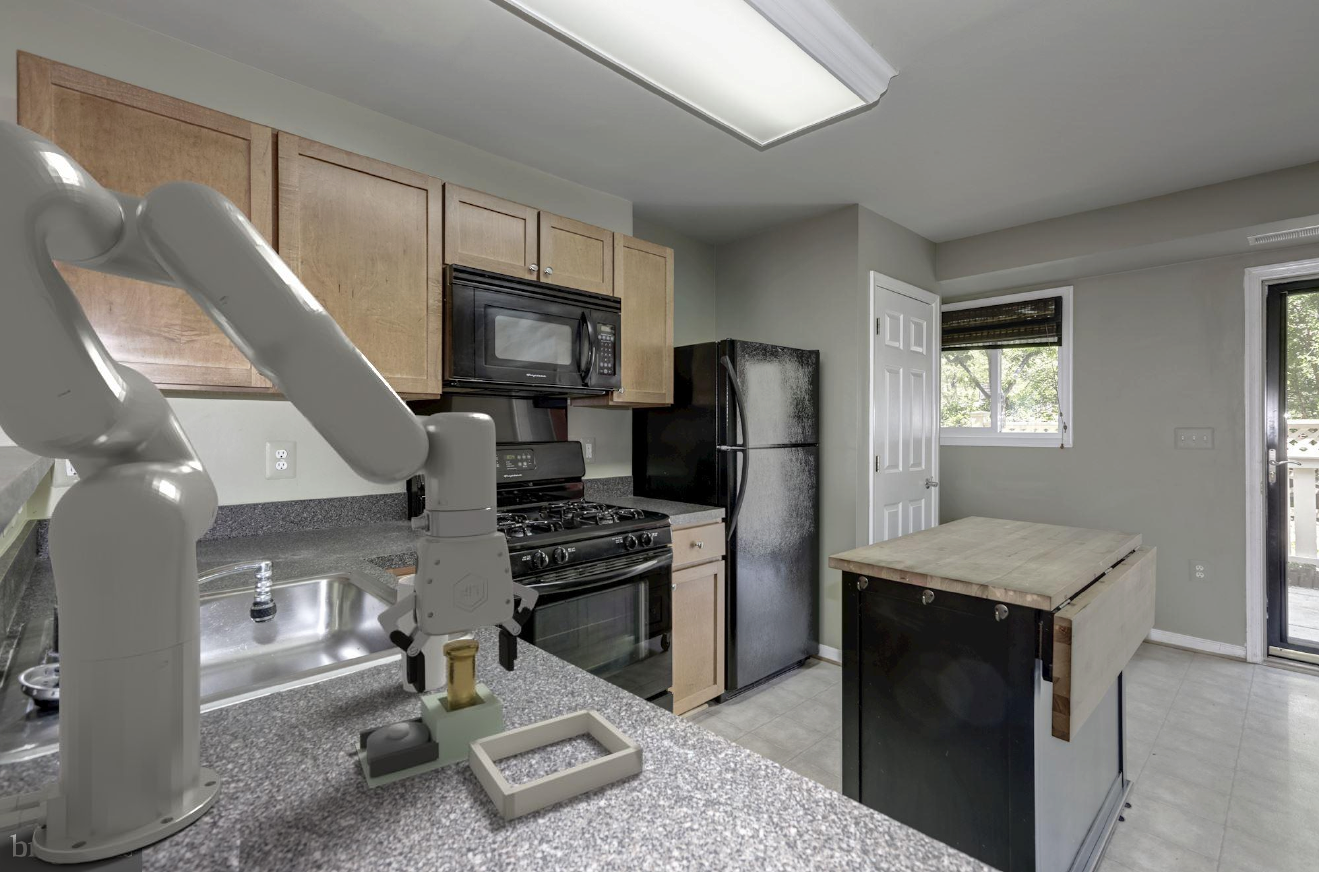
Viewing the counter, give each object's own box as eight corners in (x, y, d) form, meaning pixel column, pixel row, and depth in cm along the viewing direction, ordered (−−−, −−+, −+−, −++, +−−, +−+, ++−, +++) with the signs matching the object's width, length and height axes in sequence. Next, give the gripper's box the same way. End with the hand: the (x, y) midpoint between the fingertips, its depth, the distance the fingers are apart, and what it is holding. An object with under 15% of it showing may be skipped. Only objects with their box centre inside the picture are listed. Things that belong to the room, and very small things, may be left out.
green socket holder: (369, 796, 57) (369, 745, 57) (354, 751, 65) (354, 706, 65) (512, 753, 65) (512, 708, 65) (483, 717, 73) (483, 677, 73)
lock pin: (448, 749, 64) (448, 653, 64) (439, 734, 67) (439, 643, 67) (483, 739, 66) (483, 646, 66) (473, 725, 69) (473, 636, 69)
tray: (505, 830, 52) (505, 795, 52) (468, 771, 61) (468, 742, 61) (642, 778, 60) (642, 748, 60) (591, 733, 69) (591, 707, 69)
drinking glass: (432, 702, 77) (432, 585, 77) (386, 698, 79) (385, 583, 79) (460, 681, 84) (460, 573, 84) (416, 677, 85) (416, 571, 85)
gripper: (383, 536, 59) (386, 711, 59) (548, 520, 68) (550, 670, 69) (371, 527, 65) (373, 685, 65) (523, 513, 75) (525, 651, 75)
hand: (464, 677), depth 67 cm, fingers open, 9 cm apart
